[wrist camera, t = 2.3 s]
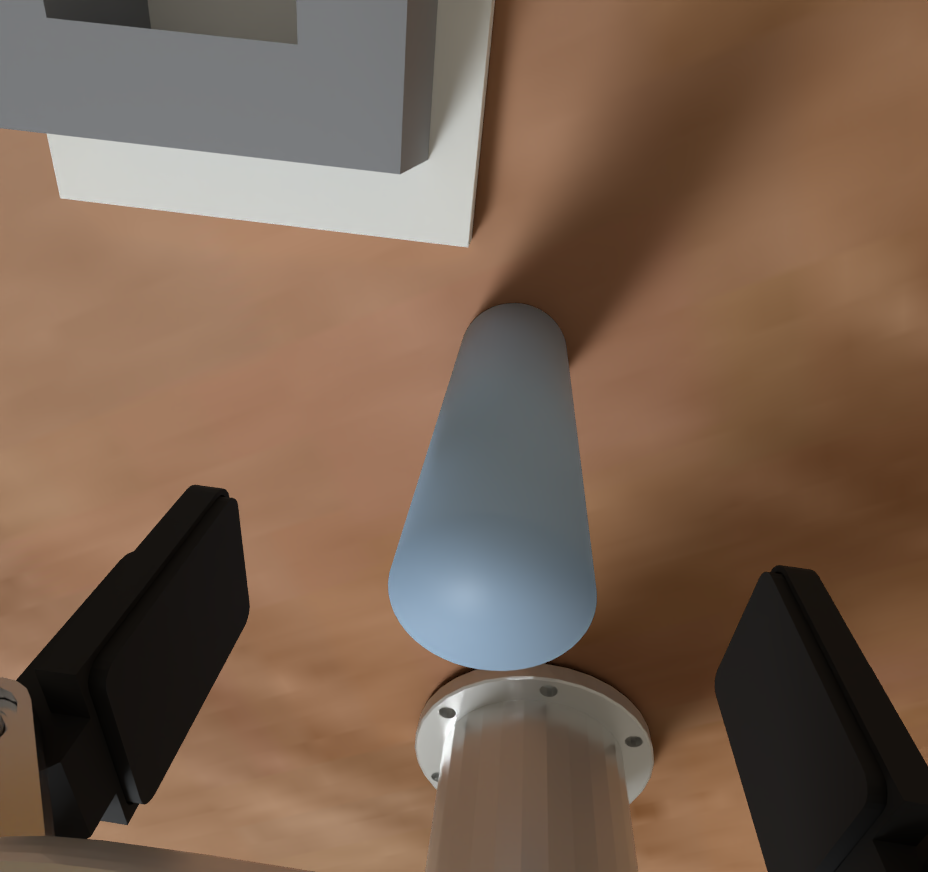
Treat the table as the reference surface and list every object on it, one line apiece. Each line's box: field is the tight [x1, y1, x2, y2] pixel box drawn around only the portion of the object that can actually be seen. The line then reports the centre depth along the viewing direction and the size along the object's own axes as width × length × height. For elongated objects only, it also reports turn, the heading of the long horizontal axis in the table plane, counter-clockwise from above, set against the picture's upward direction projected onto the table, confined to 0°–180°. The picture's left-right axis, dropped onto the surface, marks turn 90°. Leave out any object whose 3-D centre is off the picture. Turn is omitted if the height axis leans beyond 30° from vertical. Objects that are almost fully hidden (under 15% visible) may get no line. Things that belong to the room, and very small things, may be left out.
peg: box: [388, 303, 597, 671], centre depth 17 cm, size 4×4×13 cm
